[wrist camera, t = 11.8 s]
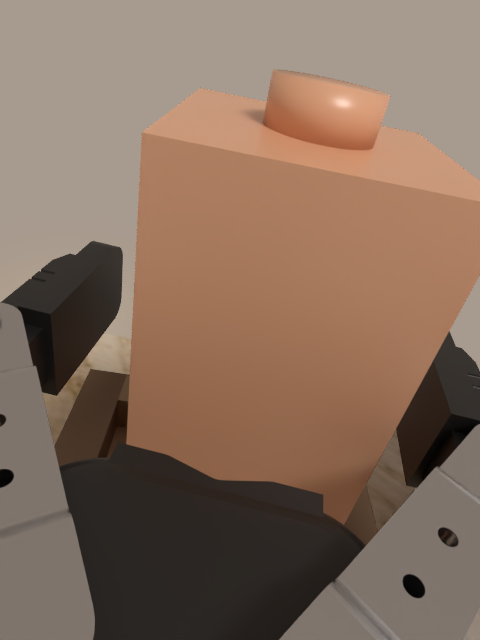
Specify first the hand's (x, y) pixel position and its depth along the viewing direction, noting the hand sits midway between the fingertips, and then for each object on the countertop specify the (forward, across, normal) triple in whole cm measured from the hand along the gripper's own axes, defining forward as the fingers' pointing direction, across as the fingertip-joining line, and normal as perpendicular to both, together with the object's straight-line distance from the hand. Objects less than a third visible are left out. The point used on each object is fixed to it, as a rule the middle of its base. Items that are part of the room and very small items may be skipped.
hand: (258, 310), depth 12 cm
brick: (-2, 0, +8) cm, 8 cm away
